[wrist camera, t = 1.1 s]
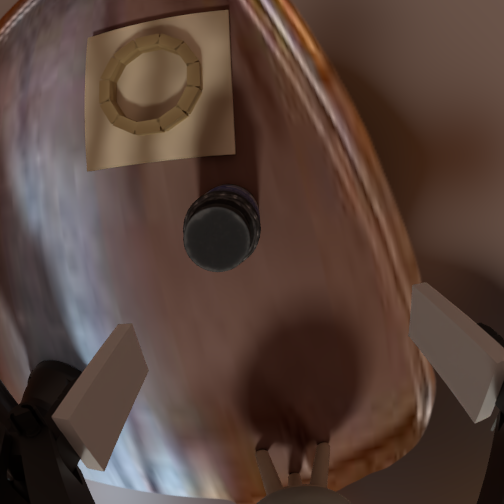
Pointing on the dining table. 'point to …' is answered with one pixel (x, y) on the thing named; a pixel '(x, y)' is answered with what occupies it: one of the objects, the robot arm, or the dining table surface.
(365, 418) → the dining table surface
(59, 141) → the dining table surface
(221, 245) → the pill bottle
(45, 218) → the dining table surface
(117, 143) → the square socket plate
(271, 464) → the planter
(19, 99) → the dining table surface
